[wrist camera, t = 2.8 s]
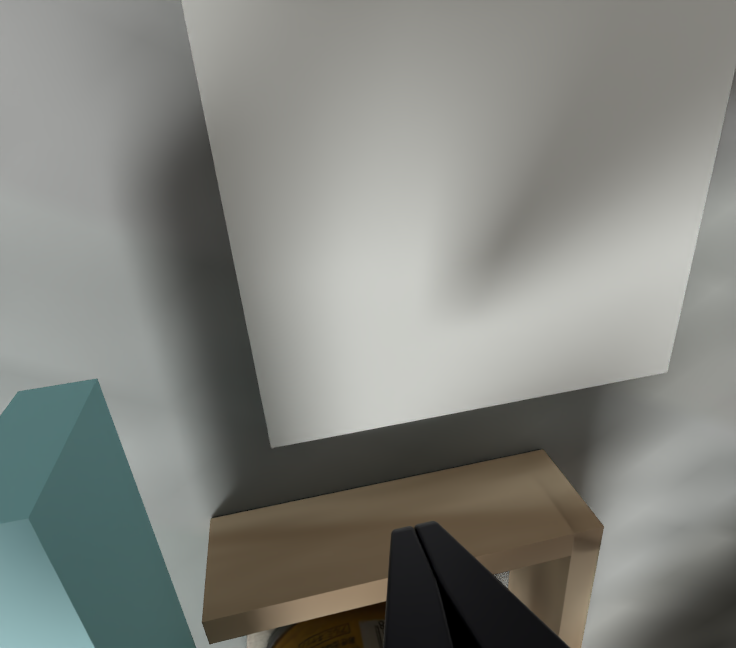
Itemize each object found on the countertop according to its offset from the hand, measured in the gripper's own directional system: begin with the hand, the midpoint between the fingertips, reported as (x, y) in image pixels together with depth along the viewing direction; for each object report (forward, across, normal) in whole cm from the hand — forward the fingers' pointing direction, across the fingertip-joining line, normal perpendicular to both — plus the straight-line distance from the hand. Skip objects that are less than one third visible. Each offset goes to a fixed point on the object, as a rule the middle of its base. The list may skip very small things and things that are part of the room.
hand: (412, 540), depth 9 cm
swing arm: (+2, +5, +5) cm, 7 cm away
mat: (+4, -3, -5) cm, 7 cm away
